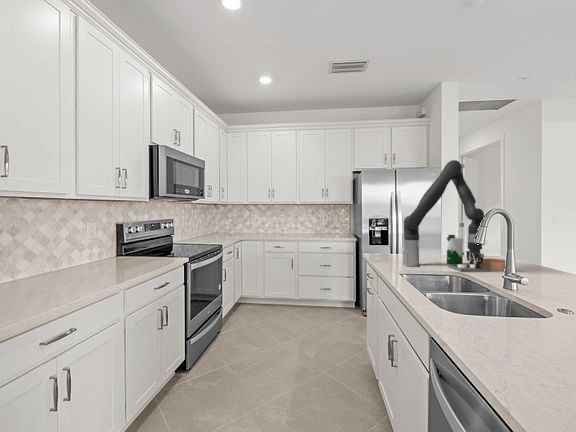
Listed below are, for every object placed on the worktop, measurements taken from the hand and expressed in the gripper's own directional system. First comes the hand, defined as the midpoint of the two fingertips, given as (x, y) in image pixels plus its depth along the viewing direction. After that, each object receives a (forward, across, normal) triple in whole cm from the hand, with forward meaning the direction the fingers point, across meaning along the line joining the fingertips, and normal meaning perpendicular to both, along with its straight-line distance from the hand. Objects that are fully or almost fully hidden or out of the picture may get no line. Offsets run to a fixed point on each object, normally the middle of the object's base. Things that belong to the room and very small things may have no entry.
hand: (474, 269), depth 189 cm
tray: (+1, 0, -4) cm, 4 cm away
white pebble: (0, 0, -8) cm, 8 cm away
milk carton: (+1, -20, -1) cm, 21 cm away
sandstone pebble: (0, 0, 0) cm, 0 cm away
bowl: (+1, -2, +14) cm, 14 cm away
